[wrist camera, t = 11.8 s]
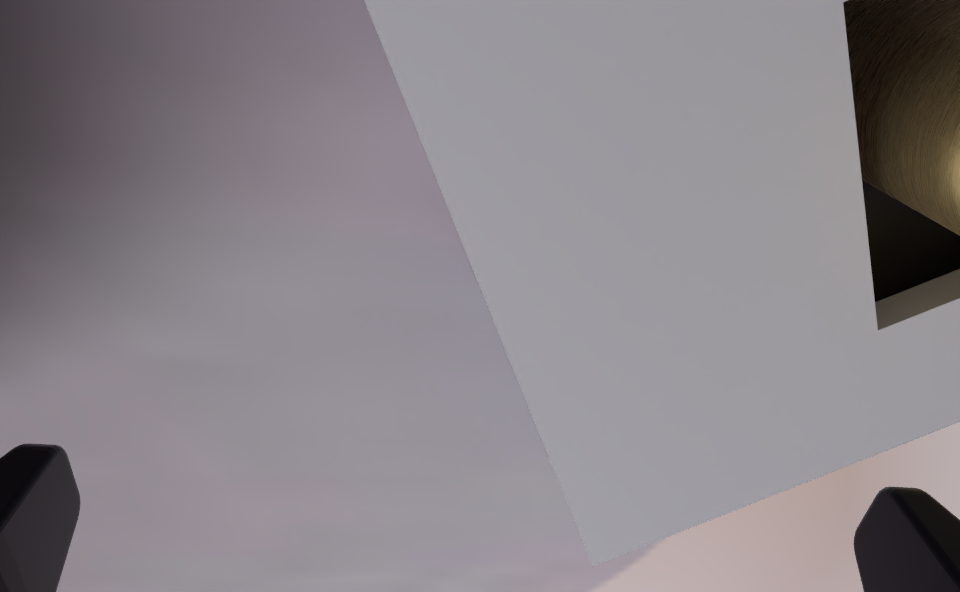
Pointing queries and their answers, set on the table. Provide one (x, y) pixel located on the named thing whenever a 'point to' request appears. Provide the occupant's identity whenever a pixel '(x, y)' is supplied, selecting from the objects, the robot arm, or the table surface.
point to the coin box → (673, 246)
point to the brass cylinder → (908, 101)
